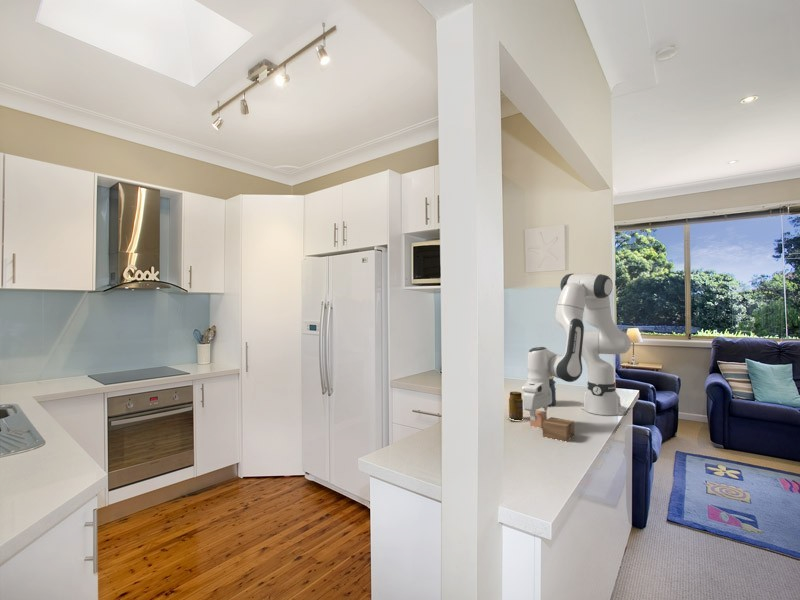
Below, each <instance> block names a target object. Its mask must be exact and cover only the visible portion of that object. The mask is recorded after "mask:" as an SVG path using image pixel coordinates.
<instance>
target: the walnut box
mask: <svg viewBox="0 0 800 600" xmlns="http://www.w3.org/2000/svg"><path fill="white" fill-rule="evenodd" d="M573 436H574V437H575V421H574V420H570V419H563V418H558V417H554V416H553V417H548V418H547V420H545V421H543V428H542V437H543V438H545V437H547V438H546V439H550V438H552V439H551V440H555V439H557V441H560V440H562V441H561V442H565V441H567V442H568V441H570V440H571V439H572V438H574V437H573ZM570 438H571V439H570ZM569 439H570V440H569Z"/></svg>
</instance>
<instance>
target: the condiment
mask: <svg viewBox="0 0 800 600" xmlns="http://www.w3.org/2000/svg"><path fill="white" fill-rule="evenodd" d="M522 394H523V393H522V392H521V391H510V392H509V399H508V413H509V415H508V416H509V418H511V419H514V420H522V419H523V418H524V403H523V398H522V397H523V396H522ZM522 422H527V420H526V419H525V418H524V419H523V420H522V421H520V422H519V423H522Z"/></svg>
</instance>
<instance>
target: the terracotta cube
mask: <svg viewBox="0 0 800 600" xmlns="http://www.w3.org/2000/svg"><path fill="white" fill-rule="evenodd" d="M547 412H548V411H546V412H544V411H542V410H539V409H537V410H536V412H535V415H536V416H537V419H536V420H535V421H534V420H531V415H530V414H529V417H530V418H529V419H530V420H529V423H530V424H529V425H530V427H532V426H534V427H533V428H537V427H539V428H538V429H543V421H545V420H547V419H548V418H547V417H548V415H547Z"/></svg>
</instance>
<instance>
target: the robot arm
mask: <svg viewBox="0 0 800 600" xmlns="http://www.w3.org/2000/svg"><path fill="white" fill-rule="evenodd" d="M559 285H560V286H559V287H560V290H561V292H560V294H559V297H558V301H557V304H556V309H555V313H554V314H555V318H554V319H555V321H556V322H557V324H558V326H560V327H561V328H563V330H564V331H565V333H566V343H565V350H564V351H565V352H564V355H561V354H557V353H555V352H553V351H551V350H550V349H548V348H547V347H545V346H538V347H537V346H536V347H532V348H530V349H529V350H528V353H527V358H526V359H527V360H526V365H527V366H526V368H527V372H528V373H527V377H526V379H527V381H525V383H524V385H522V392H523V393H522V394H523V396H522V397H523V398H522V400H523V410H525V411H529V416H530V415H531V420H534V421H535V420H536V419H537V416H536V415H535V412H536V410H539V409H541V411H544V412H548V407H549V406H548V405H549V404H551V403H552V392H551V388H549V377H550V376H553V377H554V378H557V379H561V380H562V381H564V382H567V383H572V382H575V381H577V380H579V378H580V377H581V376H582V374H583V362H582V361H583V360H584V362H585V364H586V367H587V377H588V379H587V380H588V381H587V383H586V384H587V385H586V387H587V390H586V391H585V392H584V405H582V406H581V410H584V411H585V412H587V413H589V414H593V415H601V416H624V415H625V412H626V409H627V408H626V406H624V405H621V397H620V396H619V394H618V392H617V389H616V388H617V382H615V376H614V375H615V374H614V373H615V372H614V367H613V365H612V364H611V363H610V362H607V361H605V360H603V359H602V358H601V357H600V355H621V354H626V353H628V352H629V351H630V349H631V346H632V345H631V344H632V340H631V339H630V337H629V335H628V334H627V333H625V332H624V331H622V330H621V329H619V327H618V326H617V325H616V324H615V322H614V321H613V317H612V310H611V299H610V294H611V293H612V290H613V280H612V279H611V277H609V276H608V275H606V274H602V273H600V274H596V273H591V272H590V273H589V272H587V273H568V274H565V275H564V276H563V277H562V278H561V281H560V284H559ZM583 317H584V318H585V321H586V323H587V324H588V325H590V326H592V327H594V328H595V329H596V330H585V327H584V322H583ZM582 358H583V360H582Z"/></svg>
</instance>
